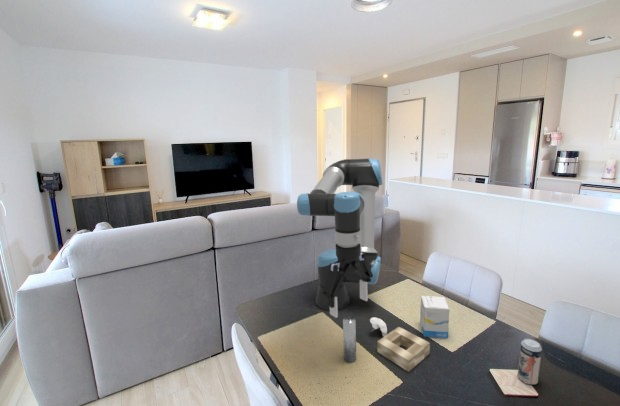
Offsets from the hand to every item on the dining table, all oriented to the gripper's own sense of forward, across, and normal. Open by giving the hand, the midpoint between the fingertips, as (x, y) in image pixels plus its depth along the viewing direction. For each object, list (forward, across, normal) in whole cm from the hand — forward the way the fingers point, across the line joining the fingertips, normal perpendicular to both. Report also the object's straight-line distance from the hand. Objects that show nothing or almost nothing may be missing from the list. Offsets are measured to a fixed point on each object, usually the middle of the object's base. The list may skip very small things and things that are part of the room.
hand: (349, 307), depth 94 cm
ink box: (+19, +33, -10) cm, 40 cm away
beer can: (+19, +32, -40) cm, 54 cm away
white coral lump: (+19, +18, +2) cm, 26 cm away
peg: (+19, 0, 0) cm, 19 cm away
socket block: (+19, +15, -10) cm, 26 cm away
